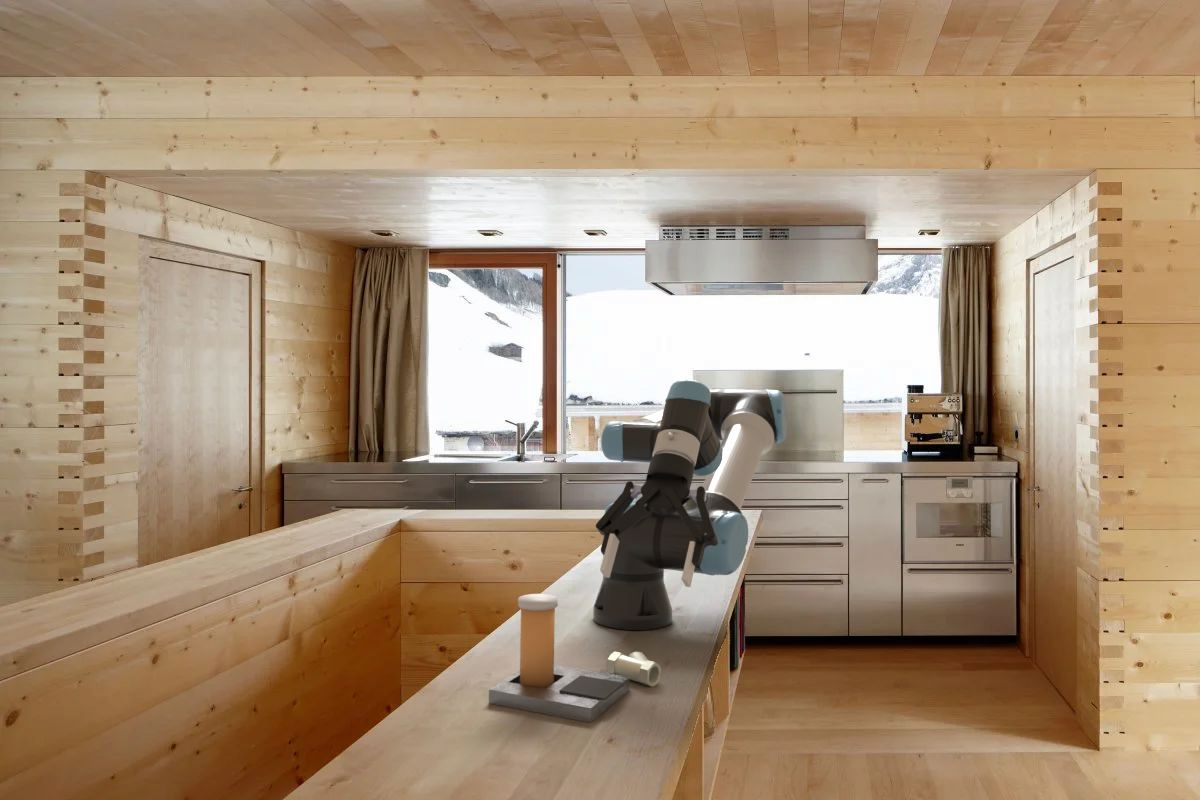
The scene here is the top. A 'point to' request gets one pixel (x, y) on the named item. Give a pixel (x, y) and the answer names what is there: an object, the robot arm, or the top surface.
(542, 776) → the top surface
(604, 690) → the pad
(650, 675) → the pipe fitting
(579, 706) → the plate
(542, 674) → the orange pill bottle
